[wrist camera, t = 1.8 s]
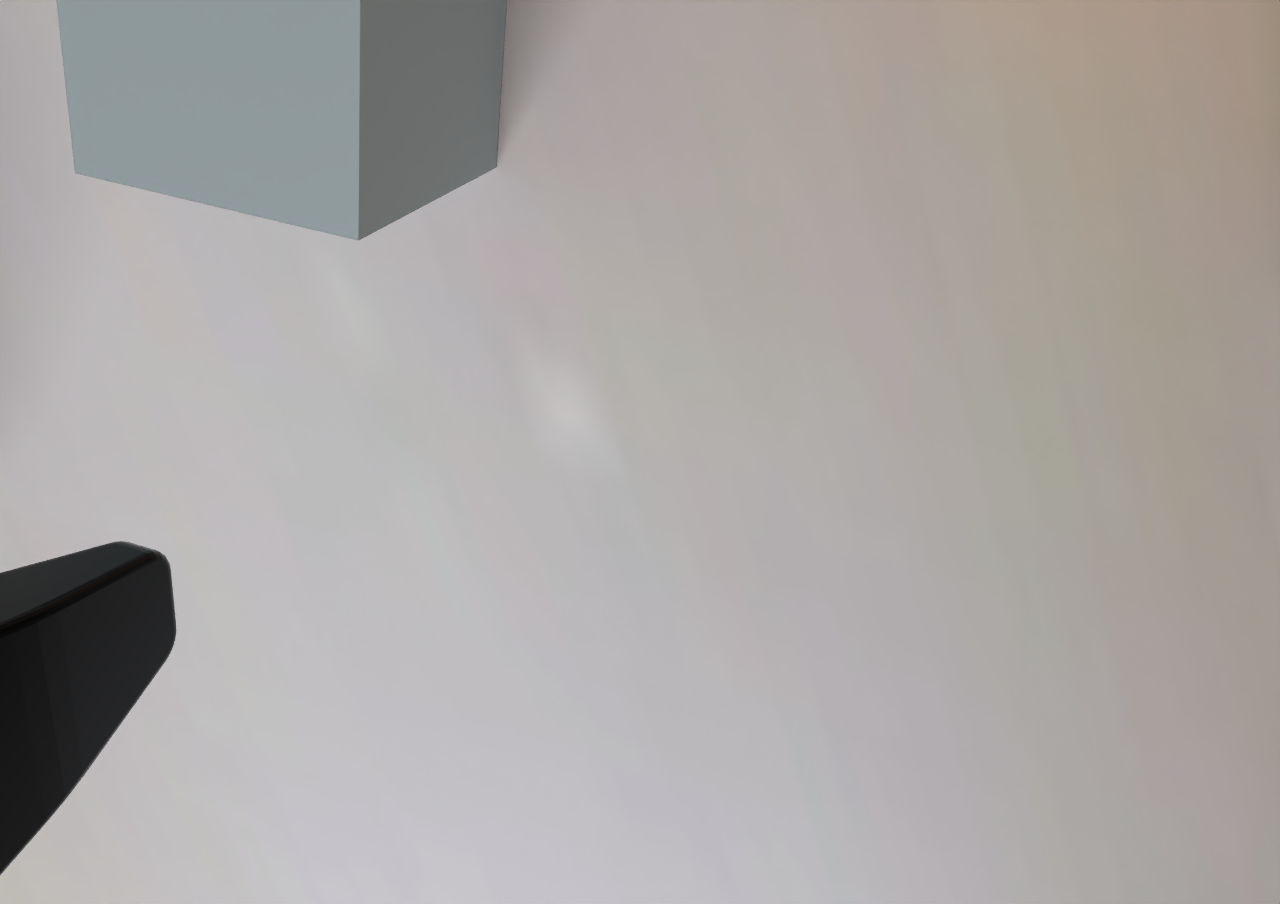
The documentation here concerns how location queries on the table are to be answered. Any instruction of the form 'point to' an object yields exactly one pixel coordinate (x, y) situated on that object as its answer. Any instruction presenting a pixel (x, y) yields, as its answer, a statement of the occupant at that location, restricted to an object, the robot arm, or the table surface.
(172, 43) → the slate grey cube
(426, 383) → the table surface
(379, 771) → the table surface
